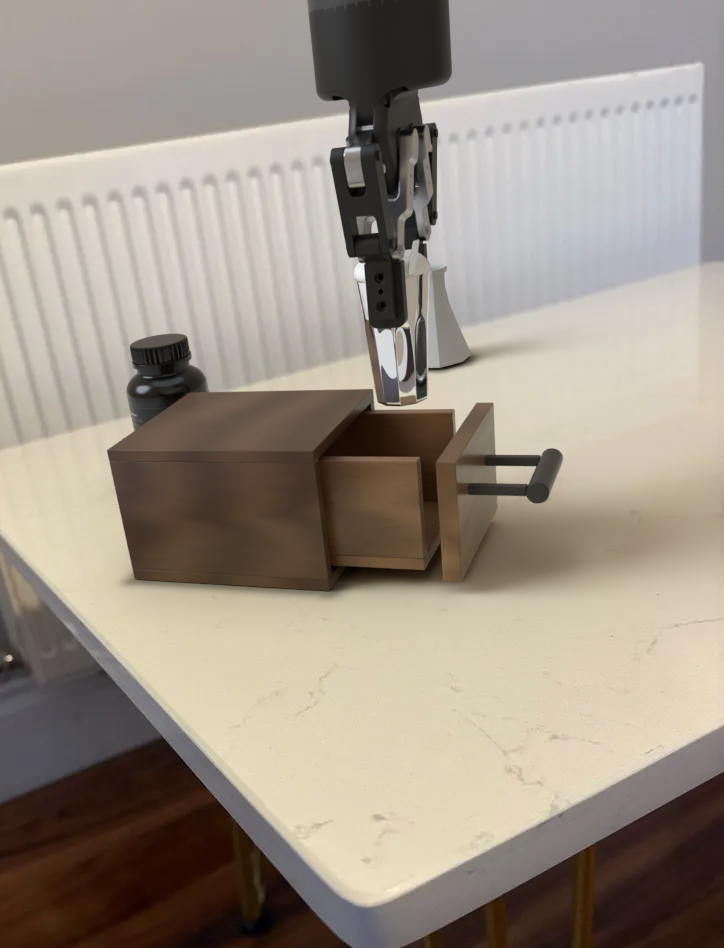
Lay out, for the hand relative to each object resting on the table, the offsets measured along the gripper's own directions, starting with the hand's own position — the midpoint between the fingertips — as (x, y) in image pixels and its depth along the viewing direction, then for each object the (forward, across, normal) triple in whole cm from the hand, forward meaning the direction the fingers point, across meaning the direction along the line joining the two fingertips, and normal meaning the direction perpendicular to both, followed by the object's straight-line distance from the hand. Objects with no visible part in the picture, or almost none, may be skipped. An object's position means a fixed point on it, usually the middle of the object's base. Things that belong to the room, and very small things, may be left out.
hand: (400, 314), depth 63 cm
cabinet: (+16, 0, +12) cm, 20 cm away
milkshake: (+6, 0, 0) cm, 6 cm away
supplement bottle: (+16, +13, +25) cm, 32 cm away
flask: (+16, +48, +10) cm, 52 cm away
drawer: (+15, 0, 0) cm, 15 cm away
